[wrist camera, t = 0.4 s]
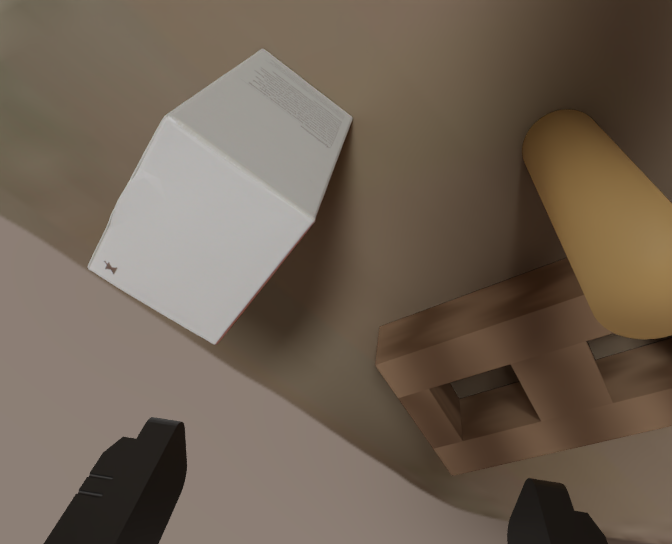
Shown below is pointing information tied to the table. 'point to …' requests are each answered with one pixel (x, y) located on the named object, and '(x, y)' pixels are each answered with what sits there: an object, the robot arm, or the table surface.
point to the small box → (223, 195)
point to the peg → (605, 222)
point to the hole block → (521, 373)
